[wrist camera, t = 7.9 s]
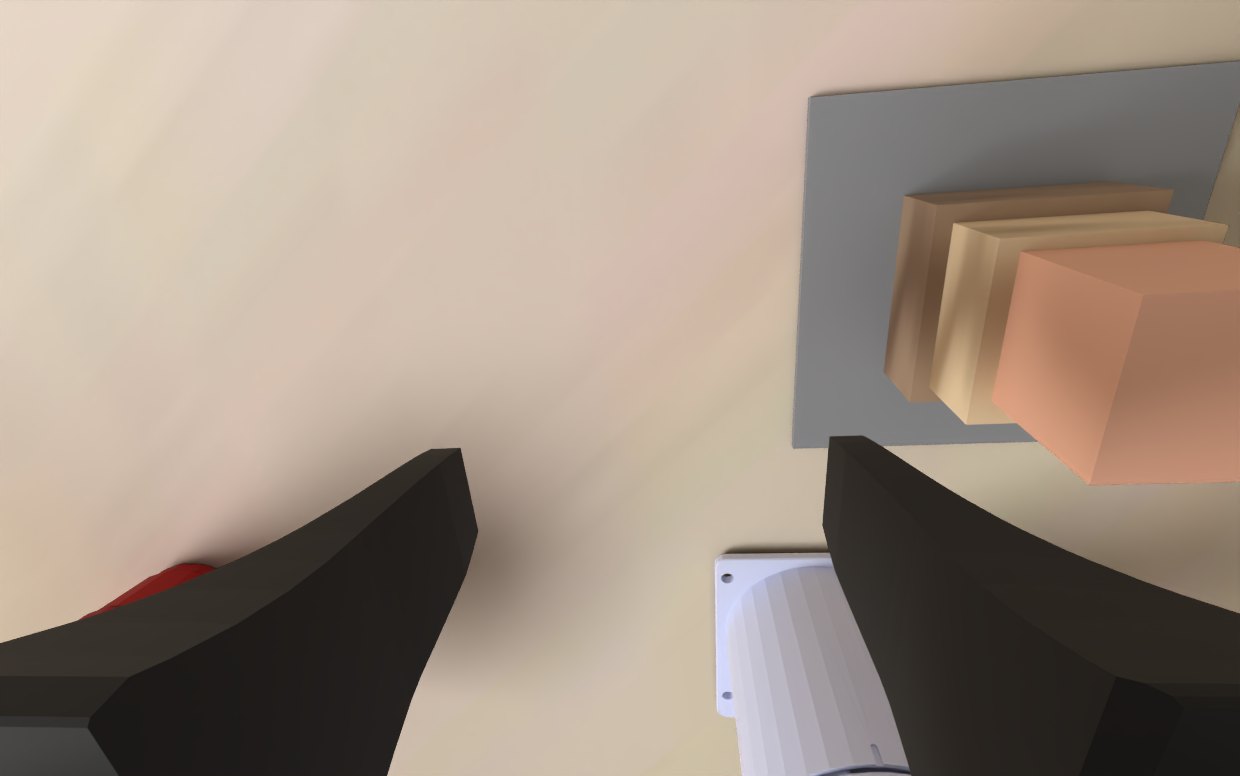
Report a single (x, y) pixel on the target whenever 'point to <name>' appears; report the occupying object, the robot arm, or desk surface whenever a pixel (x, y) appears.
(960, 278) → the tower middle
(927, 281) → the tower base
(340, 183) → the desk surface
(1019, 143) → the mat
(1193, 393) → the cube
